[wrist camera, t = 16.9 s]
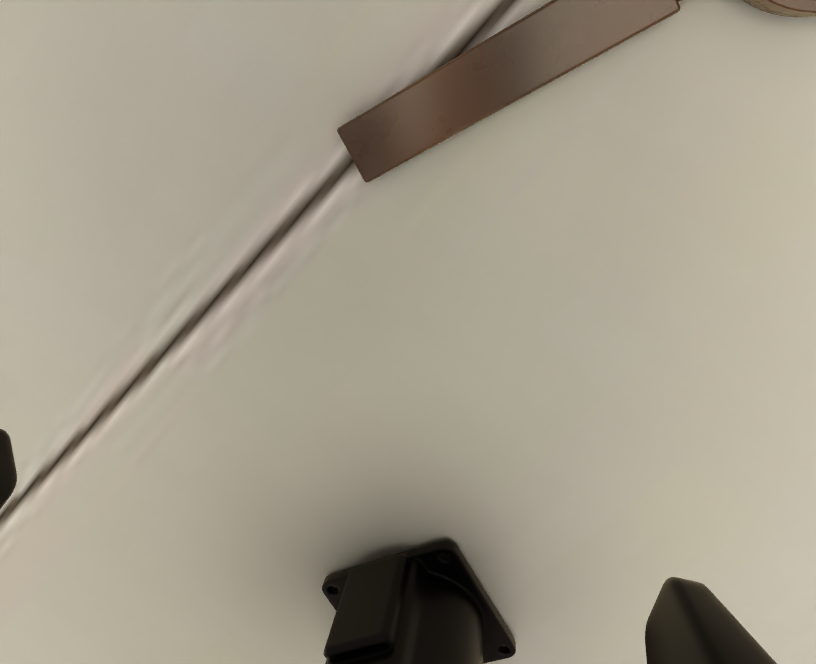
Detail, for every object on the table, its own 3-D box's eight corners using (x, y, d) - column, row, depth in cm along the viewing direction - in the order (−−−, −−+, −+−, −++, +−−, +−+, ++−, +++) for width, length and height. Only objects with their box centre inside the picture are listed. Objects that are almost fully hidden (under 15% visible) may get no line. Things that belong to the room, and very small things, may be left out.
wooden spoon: (401, 234, 20) (394, 243, 19) (309, 65, 18) (296, 65, 17) (995, -68, 14) (1034, -78, 13) (942, -345, 13) (982, -384, 12)
